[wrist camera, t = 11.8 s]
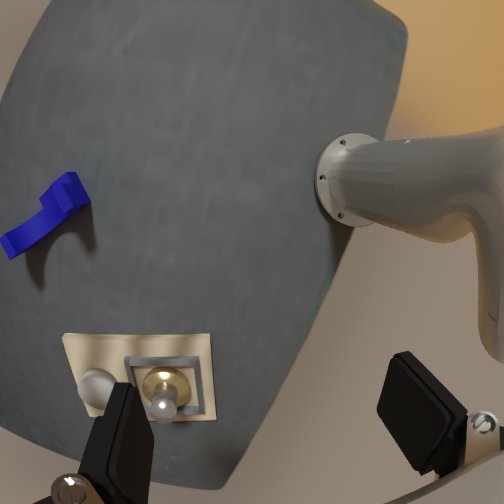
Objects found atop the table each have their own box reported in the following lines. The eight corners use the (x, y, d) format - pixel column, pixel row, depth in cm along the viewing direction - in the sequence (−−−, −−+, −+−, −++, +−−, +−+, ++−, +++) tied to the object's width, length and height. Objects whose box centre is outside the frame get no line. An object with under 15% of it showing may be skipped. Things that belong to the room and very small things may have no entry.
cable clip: (76, 171, 33) (55, 172, 27) (91, 201, 34) (73, 206, 28) (17, 221, 33) (-6, 229, 27) (31, 248, 34) (9, 260, 28)
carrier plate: (209, 333, 41) (210, 350, 37) (215, 413, 45) (217, 432, 41) (65, 332, 38) (54, 348, 33) (91, 410, 42) (85, 428, 37)
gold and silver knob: (187, 366, 40) (187, 396, 34) (191, 401, 42) (192, 431, 36) (139, 366, 39) (132, 394, 33) (147, 401, 41) (142, 430, 35)
